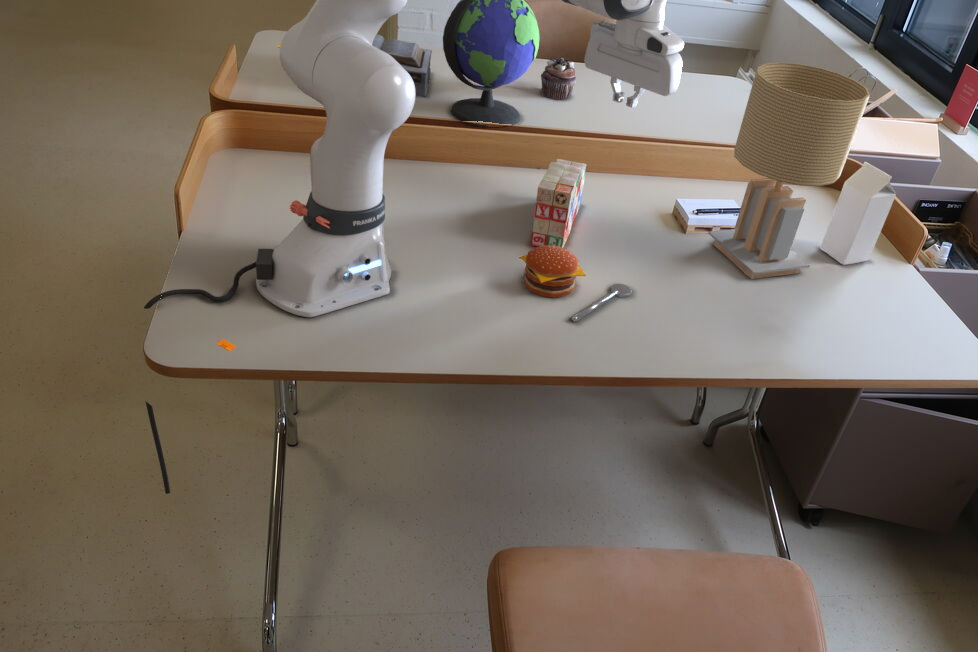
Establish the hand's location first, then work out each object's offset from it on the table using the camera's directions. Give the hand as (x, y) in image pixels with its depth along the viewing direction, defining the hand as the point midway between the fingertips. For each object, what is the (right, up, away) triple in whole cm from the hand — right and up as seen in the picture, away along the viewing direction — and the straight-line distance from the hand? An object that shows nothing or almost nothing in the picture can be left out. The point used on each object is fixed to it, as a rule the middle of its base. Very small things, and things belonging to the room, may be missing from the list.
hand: (624, 103), depth 163 cm
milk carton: (+46, -29, +6) cm, 55 cm away
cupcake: (-12, +22, +63) cm, 67 cm away
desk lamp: (+26, -31, 0) cm, 40 cm away
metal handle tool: (-6, -41, -21) cm, 47 cm away
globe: (-30, +11, +44) cm, 55 cm away
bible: (-58, +23, +55) cm, 83 cm away
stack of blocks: (-13, -24, +1) cm, 28 cm away
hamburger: (-15, -37, -18) cm, 44 cm away
